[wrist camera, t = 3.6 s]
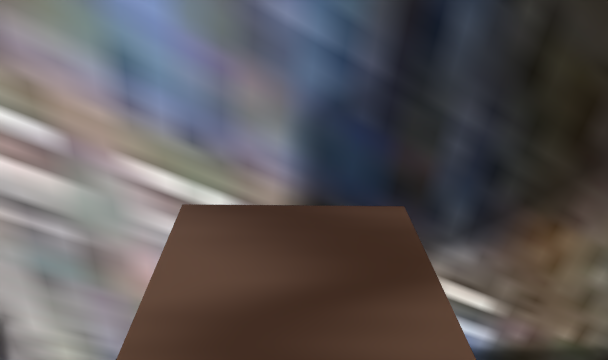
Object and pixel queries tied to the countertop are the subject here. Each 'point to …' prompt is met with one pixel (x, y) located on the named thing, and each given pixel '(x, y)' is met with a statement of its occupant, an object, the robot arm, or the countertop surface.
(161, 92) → the countertop surface
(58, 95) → the countertop surface
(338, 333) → the terracotta block
